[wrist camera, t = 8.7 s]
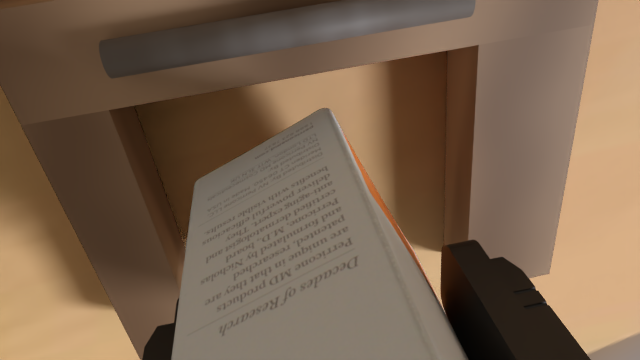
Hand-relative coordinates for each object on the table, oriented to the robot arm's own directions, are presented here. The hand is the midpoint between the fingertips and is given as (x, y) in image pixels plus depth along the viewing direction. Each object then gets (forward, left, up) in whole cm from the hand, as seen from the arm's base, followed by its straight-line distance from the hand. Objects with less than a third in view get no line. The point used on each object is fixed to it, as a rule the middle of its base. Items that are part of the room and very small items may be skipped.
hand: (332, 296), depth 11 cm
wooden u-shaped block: (-1, -1, -5) cm, 5 cm away
